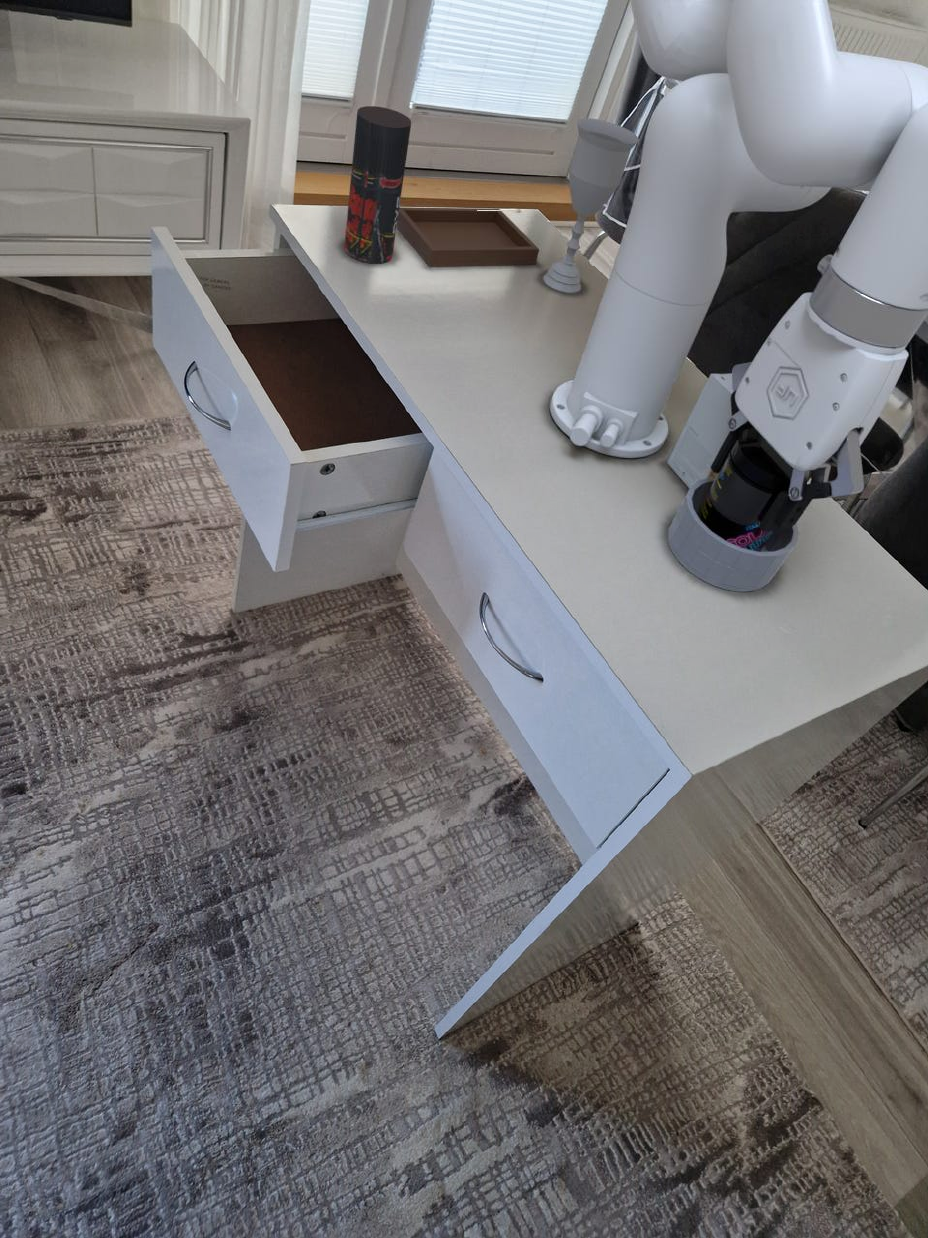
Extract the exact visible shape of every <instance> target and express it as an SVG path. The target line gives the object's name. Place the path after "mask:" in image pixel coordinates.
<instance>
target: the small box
mask: <svg viewBox="0 0 928 1238" xmlns="http://www.w3.org/2000/svg"><path fill="white" fill-rule="evenodd" d="M733 392H734V390H732V372H731V373H710V374H709V377H708V379H707V380H706V382H705V385H704V386H703V389H702V390H701V393H700V394H699V397H698V399H697V401H696V403H695V405H694V407H693V408H692V411H691V413H690V415H689V417H688V419H687V421H686V423H685V426H684V427H683V430H682V431H681V433H680V435H679V438H678V440H677V441H676V443H675V446H674V447H673V450H672V451H671V454H670V456H669V458H668V460H667V465H668V466H669V467H670V468H671V470H673V472H674V473H675V474H676V475H677V476H678V478H680V479H681V481H682V482H683V483H684V485H686V487H687V488H688V489H689V488H690V487H691V486H692V485H693V484H695V483H696V482H697V481H699V480H702V479H706V478H710V477H716V476H717V475H718V473H714V472H713V471H712V469H711V465H712V463H713V461H714V460H715V458H716V456H717V454H718V452H719V450H720V448H721V446H722V445H723V443H724V441H725V439H726V437H727V436H728V434H729V432H730V430H729V429H728V426H727V422H728V420H729V418H730V417H732V413H731V394H732V393H733Z"/></svg>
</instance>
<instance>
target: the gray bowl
mask: <svg viewBox="0 0 928 1238" xmlns="http://www.w3.org/2000/svg"><path fill="white" fill-rule="evenodd" d="M715 478H716V477H710V478H706V479H702V480H699V481H697V482H696V483H695V484H693V485H692V486H691V487H690V488H688V490H687V492H686V494H685V496H684V497H683V500H682V501H681V504H680V506H679V507H678V509H677V511H676V513H675V515H674V517H673V518H672V520H671V524H670V526H669V527H668V531H667V541H668V542H667V543H668V546H669V549H670V550H671V552H672V554H673V555H674V557H675V559H676V560H677V561H678V562H679V564H680V565H681V566H682V567H684V568H685V569H686V570H687V571H688V572H689V573H691V574H692V575H693V576H694V577H696V578H698V579H699V580H700V581H701V580H702V581H703V582H704V583H707V584H709V585H711V586H714V587H716V588H719V589H723V590H726V591H731V592H738V593H742V592H743V593H745V592H754V591H757V590H760V589H763V588H764V587H766V586H767V585H768V584H769V583H770V582H771V581H772V579H773V578H774V577H775V576H776V574H777V573H778V571H779V570H780V569H781V568H782V565H783V564H784V563H785V562H786V560H787V558H789V556H790V554H791V553H792V552H793V550H794V548H795V547H796V545H797V543H798V539H799V534H800V533H799V529H798V526H797V523H796V524H795V525H794V526H793V527H791V528H789V529H782V530H775V531H774V532H773V534H772V535H771V537H770V538H769V540H768V541H767V543H766V544H765V546H764V547H763V548H762V550H761V551H760V552H758V551H753V550H749V549H744V548H741V547H739V546H736V545H734V544H732V543H729V542H727V541H725V540H724V539H722V538H721V537H719V536H718V535H716V534H715V533H713V532H712V531H711V530H710V529H709V528H708V527H707V526H706V525H705V524H704V523H703V522H702V521H701V520H700V519H699V517H698V515H697V514H696V512H697V510H698V508H699V506H700V505H701V503H702V501H703V499H704V498H705V496H706V494H707V492H708V490H709V489H710V487H711V485H712V483H713V482H714V480H715Z"/></svg>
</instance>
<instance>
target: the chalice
mask: <svg viewBox="0 0 928 1238" xmlns="http://www.w3.org/2000/svg"><path fill="white" fill-rule="evenodd" d="M576 122H577V124H576V125H577V131H578V132H577V133H578V135H577V139H576V143H575V146H574V148H573V149H574V150H573V153H572V156H571V160H570V164H569V169H568V170H569V171H568V179H569V181H568V183H569V194H570V199H571V207H572V210H573V211H574V212H576V213H577V217H576V218H577V219H576V222H575V223H574V226H572V227H571V236H572V237H571V238H570V240H569V241H567V242H566V246H567V252H566V255H565V257H564V258H562V260H561V259H559V260H557V261H555V262H554V263H552V264H551V267H550V268H549V269H548V270H547V272H546V273H545V274H544V275H543V277H542V280H543V282H544V283H545V284H546V285H547V286H548V287H550V288H551V289H553V290H556V291H557V292H558V291H559V292H562V293H568V294H574V293H575V294H576V293H577V292H580V291H581V289H582V285H581V271H580V269H579V266H578V265H577V264H576V262H575V261H574V260H575V255H576V253H577V251H579V250H580V249H581V246H580V239H581V237H582V235H584V234H585V230H584V228H585V222H586V220H587V218H588V217H593V216H595V215H596V214H597V213H598V212H599V211H600V210H601V209H602V208H603V207H604V206H605V204H606V203H607V202H608V201H609V200H610V199H611V197H612V196H613V195H614V193H615V192H616V190H617V189H618V188H619V186H620V184H621V181H622V179H623V176H624V172H625V169H626V166H627V163H628V161H629V157H630V154H631V151H632V149H634V147H635V146H636V145H637V144H638V143H639V141H640V140H639V139H640V138H639V137H638V135H636V133H634V132H633V131H631V130H630V129H627V128H625V127H623V126H621V125H619V124H616V123H613V122H610V121H606V120H603V119H598V118H590V117H589V118H588V117H586V118H585V117H584V118H580V119H578V120H577V121H576Z"/></svg>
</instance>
